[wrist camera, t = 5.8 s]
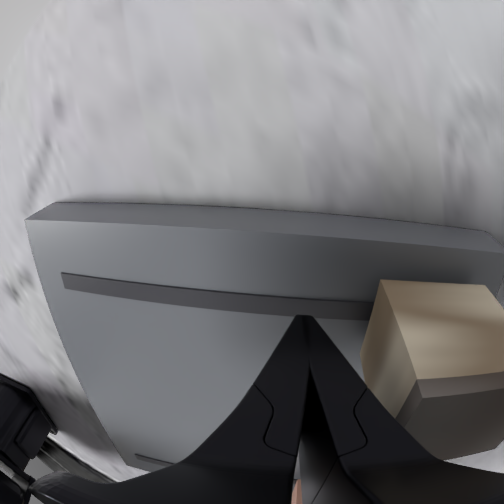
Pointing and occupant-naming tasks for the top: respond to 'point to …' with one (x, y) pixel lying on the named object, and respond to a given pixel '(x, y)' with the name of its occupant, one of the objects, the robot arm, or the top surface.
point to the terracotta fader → (297, 493)
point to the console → (218, 302)
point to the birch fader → (438, 363)
